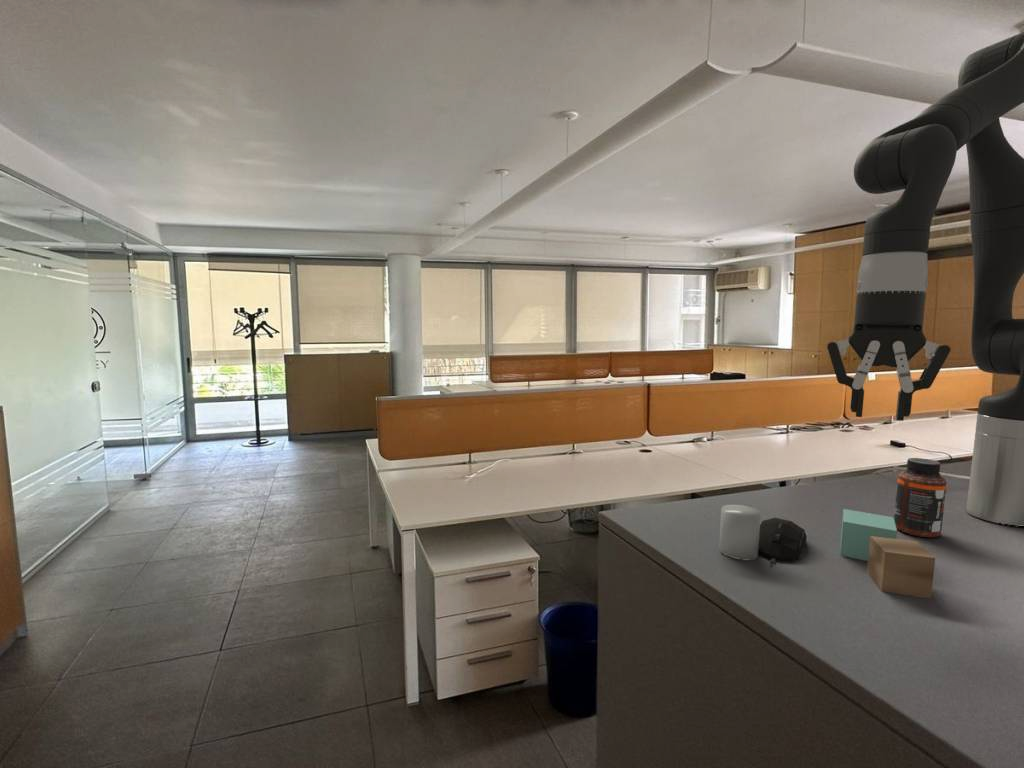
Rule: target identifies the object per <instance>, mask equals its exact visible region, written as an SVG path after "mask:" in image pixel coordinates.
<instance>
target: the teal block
mask: <svg viewBox="0 0 1024 768" xmlns="http://www.w3.org/2000/svg"><path fill="white" fill-rule="evenodd" d="M840 533H841V534H840V540H839V541H840V548H839V549H840V550H839V553H840V554H839V555H840V556H841V557H845V558H846V557H847V558H851V559H856V560H860V561H866V562H868V556H869V546H870V536H874V537H883V538H892V539H897V536H898V529H897V528H896V525H895V521H894V516H887V515H881V514H876V513H875V514H874V513H868V512H864V511H859V510H858V511H857V510H851V509H845V508H843V509H842V521H841V530H840Z"/></svg>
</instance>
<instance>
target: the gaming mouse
mask: <svg viewBox="0 0 1024 768" xmlns="http://www.w3.org/2000/svg"><path fill="white" fill-rule="evenodd" d="M807 538H808V536H807V534H806V530H805V529H804V528H802V527H801V526H800V525H798V524H796V523H795V522H793V521H791V520H789V519H783V518H779V517H773V518H769V519H764V520H762V521H761V522H760V534H759V548H758V556H760V557H763V558H765V559H768V560H770V561H769V564H770V565H769V569H772V568H773V566H775V565H776V562H783V563H793V562H796V561H799V560H800V558H801V557H802V555H803V552H804V550H805V548H806V546H807Z"/></svg>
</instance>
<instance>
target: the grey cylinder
mask: <svg viewBox="0 0 1024 768" xmlns="http://www.w3.org/2000/svg"><path fill="white" fill-rule="evenodd" d="M761 518H762V513H761V511H760V510H758V509H757V508H755V507H751V506H747V505H742V504H726V505H723V506H722V507H721V512H720V525H719V528H720V529H719V542H718V550H719V549H720V550H721V551H722V552H723V553H725V554H727V555H730V556H733V557H737V558H740V559H752V560H751V561H754V560H756V559H758V557H759V555H758V548H759V534H760V524H761V520H762V519H761Z"/></svg>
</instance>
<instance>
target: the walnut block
mask: <svg viewBox="0 0 1024 768" xmlns="http://www.w3.org/2000/svg"><path fill="white" fill-rule="evenodd" d="M935 565H936V557H935V556H934V555H933V554H932V553H931V552H929V551H928V550H927V549H926V548H925V546H924V547H923V545H921V544H920V542H918V541H917V540H906V539H900V538H899V539H898V538H896V539H892V538H883V537H874V536H870V546H869V556H868V561H867V570H866V573H867V575H868V577H870V578H871V579H872V582H873V583H875V585H876V586H877V588H878V589H879V591H881V592H884V593H890V594H891V593H892V594H899V595H906V596H913V597H918V598H919V597H920V598H926V599H932V591H933V584H934V583H933V581H934V573H935Z"/></svg>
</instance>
